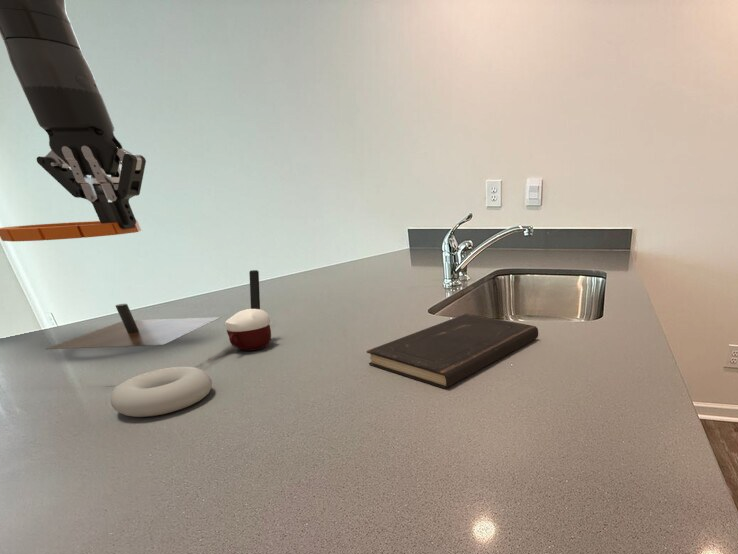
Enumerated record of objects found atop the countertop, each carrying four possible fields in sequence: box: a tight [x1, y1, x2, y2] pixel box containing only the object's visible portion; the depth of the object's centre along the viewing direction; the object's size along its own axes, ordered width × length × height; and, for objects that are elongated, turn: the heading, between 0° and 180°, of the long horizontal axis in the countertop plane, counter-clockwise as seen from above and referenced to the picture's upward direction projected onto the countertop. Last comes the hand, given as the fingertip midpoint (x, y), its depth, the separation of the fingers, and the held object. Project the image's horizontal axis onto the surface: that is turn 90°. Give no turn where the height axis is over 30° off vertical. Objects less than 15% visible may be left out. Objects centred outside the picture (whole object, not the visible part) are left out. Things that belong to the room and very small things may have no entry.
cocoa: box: [224, 269, 272, 352], centre depth 67 cm, size 10×6×12 cm, turn 153°
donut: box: [110, 366, 213, 418], centre depth 51 cm, size 10×4×10 cm
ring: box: [0, 219, 142, 242], centre depth 61 cm, size 15×15×2 cm
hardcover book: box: [366, 313, 539, 389], centre depth 65 cm, size 16×23×2 cm
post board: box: [45, 303, 222, 350], centre depth 73 cm, size 19×16×6 cm
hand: (121, 228), depth 61 cm, fingers closed on ring, 1 cm apart
